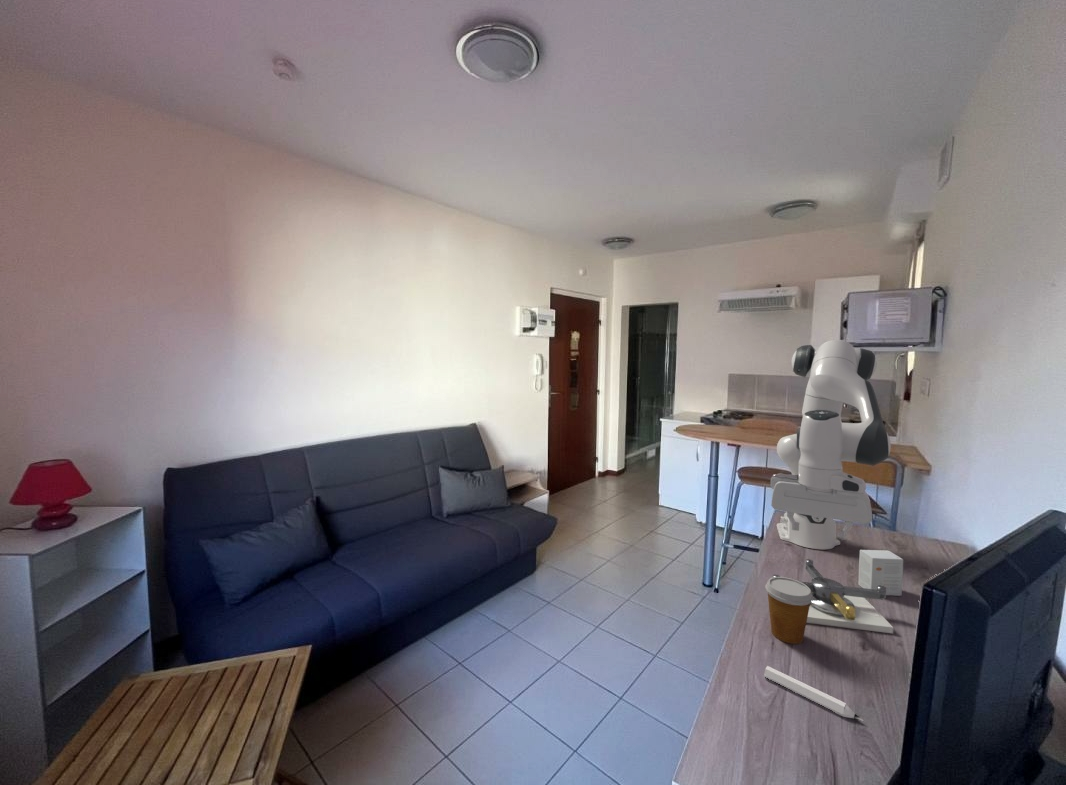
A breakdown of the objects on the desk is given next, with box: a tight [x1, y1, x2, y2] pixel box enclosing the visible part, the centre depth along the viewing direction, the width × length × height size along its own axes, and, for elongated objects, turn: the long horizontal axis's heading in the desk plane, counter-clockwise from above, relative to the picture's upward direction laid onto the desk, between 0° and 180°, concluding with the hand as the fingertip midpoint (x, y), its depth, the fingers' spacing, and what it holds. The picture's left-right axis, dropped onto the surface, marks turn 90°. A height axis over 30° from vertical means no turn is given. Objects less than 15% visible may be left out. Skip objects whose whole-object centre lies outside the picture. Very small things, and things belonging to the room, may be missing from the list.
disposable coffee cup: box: [764, 576, 813, 645], centre depth 99 cm, size 10×10×12 cm
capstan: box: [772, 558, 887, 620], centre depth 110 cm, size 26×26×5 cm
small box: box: [858, 549, 904, 597], centre depth 118 cm, size 8×6×10 cm
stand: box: [806, 596, 894, 634], centre depth 111 cm, size 18×20×4 cm
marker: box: [763, 665, 865, 722], centre depth 81 cm, size 3×2×16 cm
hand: (818, 533), depth 103 cm, fingers open, 8 cm apart
